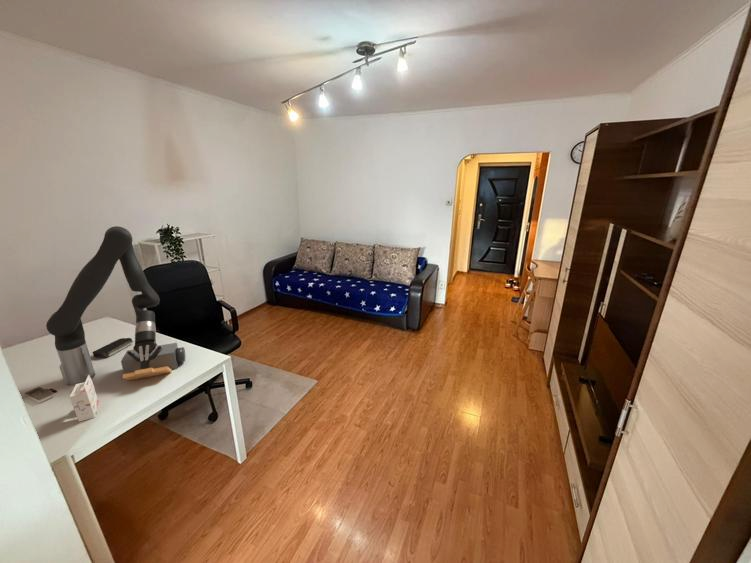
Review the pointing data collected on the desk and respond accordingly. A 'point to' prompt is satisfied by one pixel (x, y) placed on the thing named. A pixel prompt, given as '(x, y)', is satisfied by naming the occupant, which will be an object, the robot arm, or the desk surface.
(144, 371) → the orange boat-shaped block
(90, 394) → the ink cartridge box
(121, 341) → the black sponge
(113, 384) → the desk surface
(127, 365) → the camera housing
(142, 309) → the robot arm
